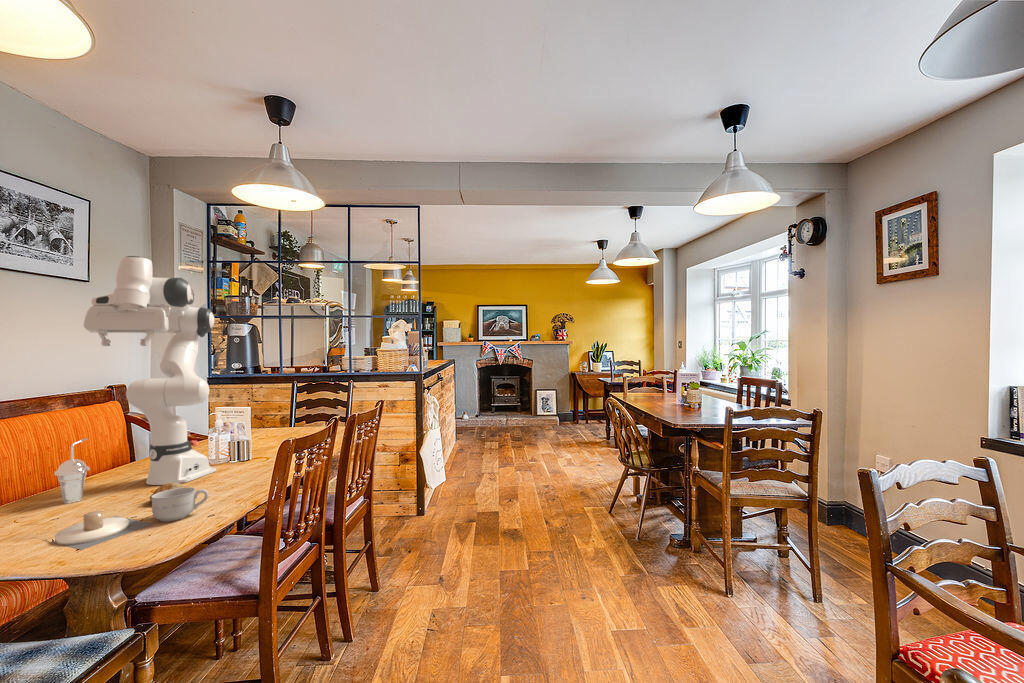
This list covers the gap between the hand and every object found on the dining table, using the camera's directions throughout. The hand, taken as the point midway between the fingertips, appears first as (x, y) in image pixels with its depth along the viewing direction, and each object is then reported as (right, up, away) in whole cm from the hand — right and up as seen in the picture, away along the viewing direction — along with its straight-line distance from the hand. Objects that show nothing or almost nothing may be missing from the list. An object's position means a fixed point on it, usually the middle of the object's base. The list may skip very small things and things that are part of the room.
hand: (124, 345), depth 137 cm
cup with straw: (-28, -52, +13) cm, 61 cm away
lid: (+2, -52, -12) cm, 53 cm away
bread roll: (+4, -52, +12) cm, 54 cm away
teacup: (+18, -52, -1) cm, 55 cm away
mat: (+3, -52, -12) cm, 53 cm away
